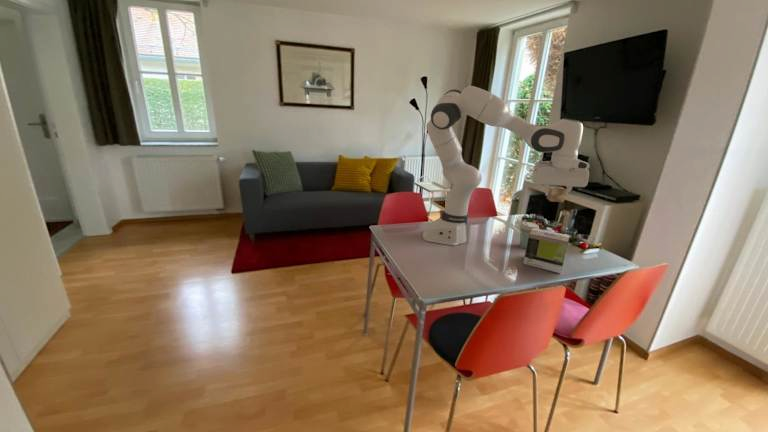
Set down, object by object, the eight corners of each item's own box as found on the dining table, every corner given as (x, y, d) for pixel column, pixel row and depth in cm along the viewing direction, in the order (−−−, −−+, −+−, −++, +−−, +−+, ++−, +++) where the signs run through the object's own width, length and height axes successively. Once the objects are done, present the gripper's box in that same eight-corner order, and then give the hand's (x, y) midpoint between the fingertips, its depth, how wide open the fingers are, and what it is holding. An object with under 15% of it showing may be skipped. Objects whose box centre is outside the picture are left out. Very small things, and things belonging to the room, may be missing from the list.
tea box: (562, 265, 141) (570, 234, 136) (560, 274, 133) (568, 242, 128) (526, 256, 149) (532, 226, 144) (522, 264, 140) (529, 233, 136)
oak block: (550, 201, 128) (553, 189, 127) (546, 198, 133) (548, 186, 131) (563, 202, 128) (566, 190, 126) (559, 198, 132) (561, 187, 131)
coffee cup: (520, 242, 165) (525, 220, 161) (537, 247, 159) (542, 225, 155) (513, 246, 159) (518, 223, 155) (530, 252, 153) (536, 228, 149)
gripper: (537, 161, 124) (531, 196, 128) (594, 164, 121) (585, 199, 125) (533, 159, 129) (527, 192, 134) (587, 162, 127) (578, 195, 131)
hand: (555, 195), depth 130 cm, fingers closed on oak block, 5 cm apart
